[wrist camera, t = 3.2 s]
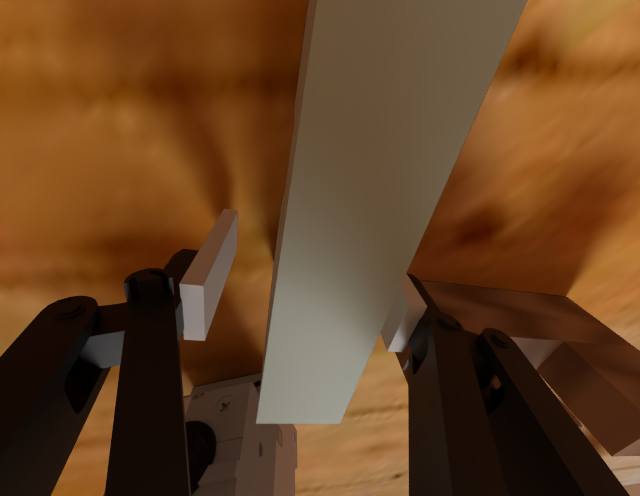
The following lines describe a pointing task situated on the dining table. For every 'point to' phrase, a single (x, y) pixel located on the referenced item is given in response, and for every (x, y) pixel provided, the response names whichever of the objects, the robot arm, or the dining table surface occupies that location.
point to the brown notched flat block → (559, 355)
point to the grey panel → (366, 180)
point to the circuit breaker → (237, 443)
